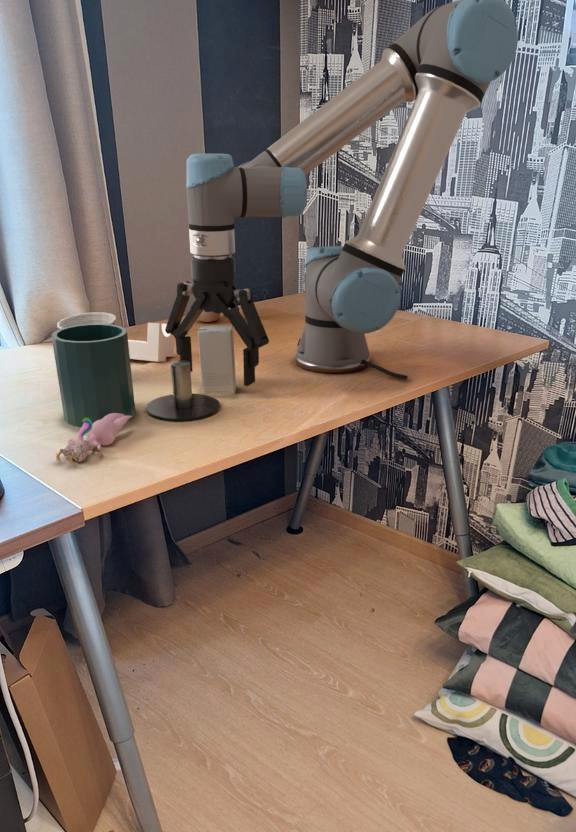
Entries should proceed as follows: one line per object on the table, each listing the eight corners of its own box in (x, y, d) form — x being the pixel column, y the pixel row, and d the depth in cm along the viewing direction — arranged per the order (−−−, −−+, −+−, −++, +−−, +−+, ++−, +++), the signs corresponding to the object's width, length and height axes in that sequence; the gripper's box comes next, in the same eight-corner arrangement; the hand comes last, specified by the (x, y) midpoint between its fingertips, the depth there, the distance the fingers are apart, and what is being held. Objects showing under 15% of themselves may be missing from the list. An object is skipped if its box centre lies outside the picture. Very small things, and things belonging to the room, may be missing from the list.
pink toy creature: (83, 477, 104) (145, 428, 114) (73, 442, 101) (138, 394, 111) (51, 469, 107) (114, 421, 117) (40, 434, 103) (106, 388, 113)
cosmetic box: (236, 389, 135) (234, 324, 129) (234, 397, 131) (232, 330, 125) (203, 389, 135) (200, 324, 129) (200, 397, 131) (197, 330, 125)
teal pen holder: (149, 412, 124) (141, 328, 117) (105, 436, 114) (93, 346, 108) (96, 402, 128) (86, 320, 121) (50, 424, 119) (35, 336, 112)
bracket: (173, 361, 153) (174, 324, 152) (157, 361, 147) (159, 323, 145) (119, 355, 157) (120, 319, 155) (101, 355, 150) (102, 318, 149)
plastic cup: (54, 381, 138) (44, 318, 133) (102, 369, 145) (94, 309, 140) (86, 394, 132) (77, 329, 126) (134, 380, 139) (128, 318, 133)
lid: (233, 406, 127) (232, 358, 123) (194, 430, 117) (190, 378, 113) (174, 395, 132) (170, 348, 128) (131, 417, 122) (126, 367, 118)
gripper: (139, 253, 123) (149, 373, 133) (267, 265, 113) (267, 394, 123) (165, 247, 129) (173, 363, 139) (288, 258, 119) (287, 382, 129)
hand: (217, 378), depth 131 cm, fingers open, 13 cm apart
